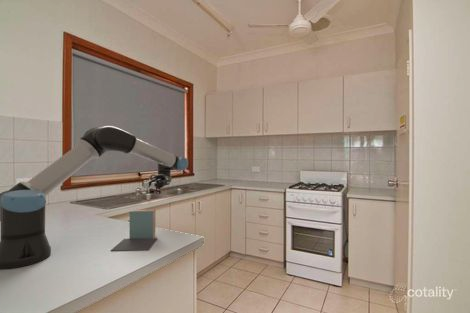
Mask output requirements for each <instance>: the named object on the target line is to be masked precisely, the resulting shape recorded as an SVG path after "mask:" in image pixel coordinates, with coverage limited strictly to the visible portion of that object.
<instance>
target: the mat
mask: <svg viewBox="0 0 470 313" xmlns="http://www.w3.org/2000/svg"><path fill="white" fill-rule="evenodd" d="M157 240H158V238H156V237H154V238H137V239H129V238H123V239H122V240H121V241H120V242H118V243H117V244H116V245H115V246H114V247H113V248H111V249H110V252H127V251H128V252H129V251H131V252H132V251H134V252H135V251H136V252H137V251H150V249H151V248H152V246H154V244H155V242H157Z"/></svg>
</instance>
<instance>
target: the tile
mask: <svg viewBox="0 0 470 313" xmlns="http://www.w3.org/2000/svg"><path fill="white" fill-rule="evenodd" d="M156 210H157V209H156V208H154V209H153V208H149V209H145V208H143V209H142V208H141V209H137V208H136V209H131V210H130V211H129V238H128V239H137V238H156V213H157V212H156Z"/></svg>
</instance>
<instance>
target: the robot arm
mask: <svg viewBox="0 0 470 313" xmlns="http://www.w3.org/2000/svg"><path fill="white" fill-rule="evenodd" d="M106 152H120V153H124V154H128V155H129V154H133V155H136V156H138V157H141V158H143V159H146V160H149V161H150V162H151V161H152V162H154V163H156V164H157V175H154V176H153V178H152V179H150V180H149V179H144V180H143V181H142V183H141V186H142V188H143V189H144V190H145V189H148V188H150V189H152V190H153V189H162V188H164V187H166V186H169V185H170V183H172V179H173V178H172V175H171V171H184V170H187V168H188V167H189V161H188V159H187V158H186V157H183V156H177V155H176V154H172V153H171V152H168V151H165V150H164V149H162V148H159V147H157V146H155V145H152V144H150V143H148V142H145V141H143V140H141V139H138V138H137V137H136V135H134V134H132V133H130V132H128V131H125V130H123V129H121V128H119V127H116V126H113V125H105V126H101V127H97V126H95V127H91V128H90V129H88V130H87V131H85V132H84V134H83V135H82V136H81V137H80V138H79V139H78V140H77V145H76V146H74V147H72V148H71V149H70V150H68V151H67V152H66V153H64V154H63V155H62V156H60V157H59V158H58V159H57V160H55V161H54V162H52V163H50V165H48V166H46V167H45V168H44V169H43V170H41V171H40V172H39V173H38V174H36V175H35V176H33V177H32V178H31V179H29V180H28V181H20V182H18V183H17V184H15V185H14V186H13V187H11V188H10V189H8V190H5V191H2V192H0V270H1V269H3V270H6V269H15V268H21V267H26V266H29V265H33V264H36V263H40V262H42V261H43V260H45V259H47V258H49V257H50V256H51V254H52V248H51V245H50V243H49V241H48V240H49V239H48V237H47V235H46V203H47V200H46V198H47V196H48V195H49V194H51V193H52V192H53V191H54V190H56V188H58V187H60V185H62V184H63V183H64V182H65V181H66V180H68V179H69V178H70V177H71V176H73V175H74V174H75V173H76V172H77V171H79V170H80V169H81V168H83V166H85V165H86V164H87V163H89V162H90V161H91V160H92V159H99V158H100V157H101V156H103V154H105V153H106Z"/></svg>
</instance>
